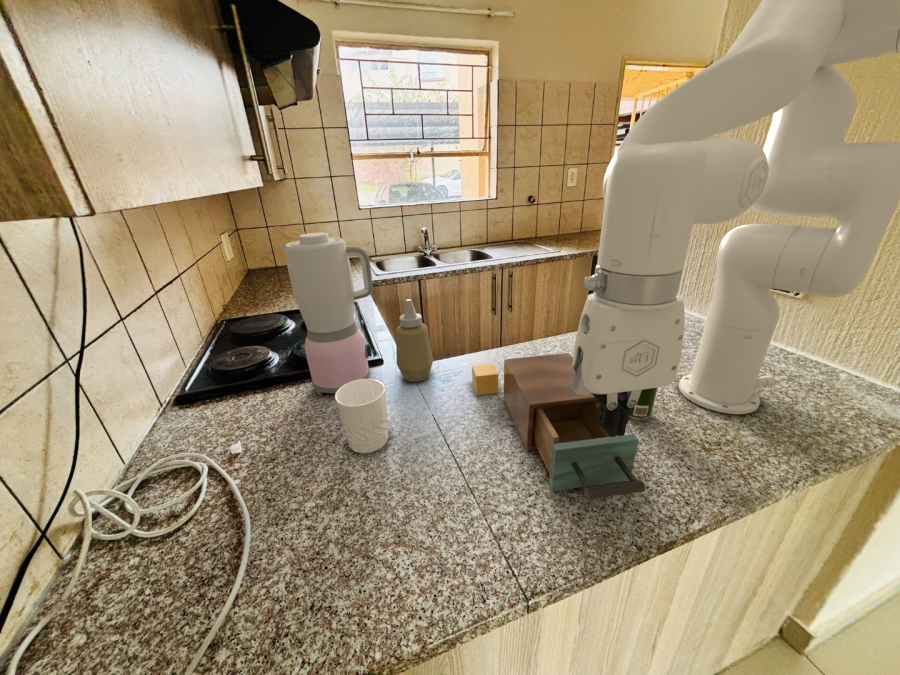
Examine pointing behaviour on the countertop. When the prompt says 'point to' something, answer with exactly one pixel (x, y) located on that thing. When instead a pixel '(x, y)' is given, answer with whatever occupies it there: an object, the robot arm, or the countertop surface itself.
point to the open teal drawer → (584, 451)
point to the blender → (329, 308)
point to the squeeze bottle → (413, 346)
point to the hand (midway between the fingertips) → (610, 428)
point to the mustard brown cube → (484, 379)
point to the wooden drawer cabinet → (538, 389)
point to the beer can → (644, 405)
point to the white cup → (363, 414)
